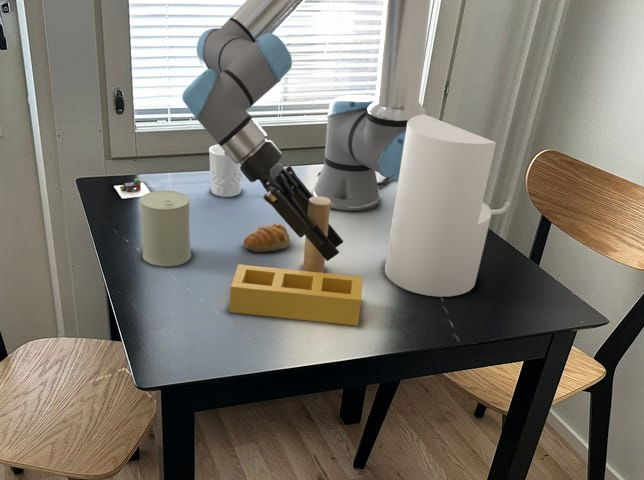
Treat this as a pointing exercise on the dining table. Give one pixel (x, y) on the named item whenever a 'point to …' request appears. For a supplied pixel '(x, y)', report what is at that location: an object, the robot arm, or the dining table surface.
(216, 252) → the dining table surface
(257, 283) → the yellow peg holder
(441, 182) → the cylinder
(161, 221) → the can
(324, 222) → the peg
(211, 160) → the white cup
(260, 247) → the pastry
